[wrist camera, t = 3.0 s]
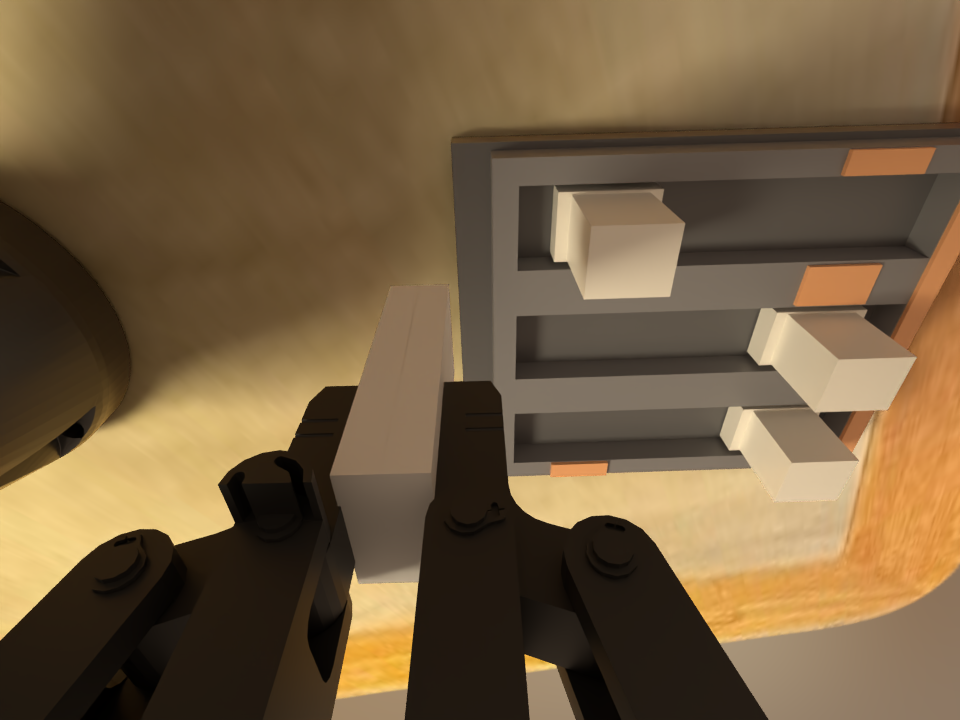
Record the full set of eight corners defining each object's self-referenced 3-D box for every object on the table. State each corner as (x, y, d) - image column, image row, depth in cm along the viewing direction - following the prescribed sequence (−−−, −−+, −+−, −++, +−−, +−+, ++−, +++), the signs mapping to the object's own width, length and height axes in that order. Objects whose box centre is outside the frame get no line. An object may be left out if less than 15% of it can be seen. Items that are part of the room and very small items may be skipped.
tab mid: (747, 351, 24) (802, 414, 20) (763, 300, 23) (826, 357, 19) (827, 349, 24) (898, 411, 20) (850, 297, 23) (931, 354, 19)
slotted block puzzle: (467, 448, 29) (467, 484, 27) (451, 137, 20) (450, 152, 18) (837, 435, 29) (869, 470, 27) (996, 121, 20) (1066, 133, 18)
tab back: (719, 435, 27) (762, 504, 23) (732, 395, 26) (781, 461, 22) (791, 432, 27) (846, 501, 23) (809, 392, 26) (871, 458, 22)
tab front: (549, 251, 21) (569, 302, 17) (553, 184, 20) (576, 223, 16) (642, 248, 21) (683, 298, 17) (654, 181, 20) (701, 219, 16)
